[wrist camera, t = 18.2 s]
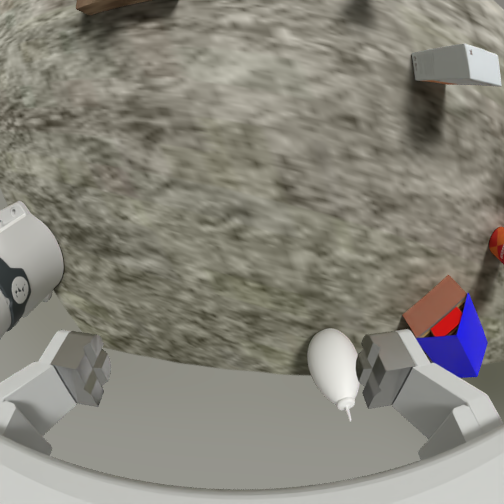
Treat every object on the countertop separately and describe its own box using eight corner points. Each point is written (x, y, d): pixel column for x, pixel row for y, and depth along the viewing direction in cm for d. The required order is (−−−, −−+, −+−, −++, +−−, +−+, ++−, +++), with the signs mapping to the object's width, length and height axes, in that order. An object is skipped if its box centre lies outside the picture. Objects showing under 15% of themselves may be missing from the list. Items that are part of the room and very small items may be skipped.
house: (433, 357, 55) (454, 394, 45) (399, 314, 48) (426, 359, 38) (472, 323, 51) (498, 357, 41) (448, 271, 45) (484, 309, 34)
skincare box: (414, 81, 31) (469, 79, 20) (410, 52, 29) (463, 42, 18) (447, 85, 31) (502, 87, 20) (443, 58, 29) (498, 53, 18)
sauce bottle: (294, 332, 49) (311, 422, 32) (335, 309, 47) (368, 397, 31) (315, 356, 52) (335, 440, 35) (353, 336, 50) (384, 418, 34)
